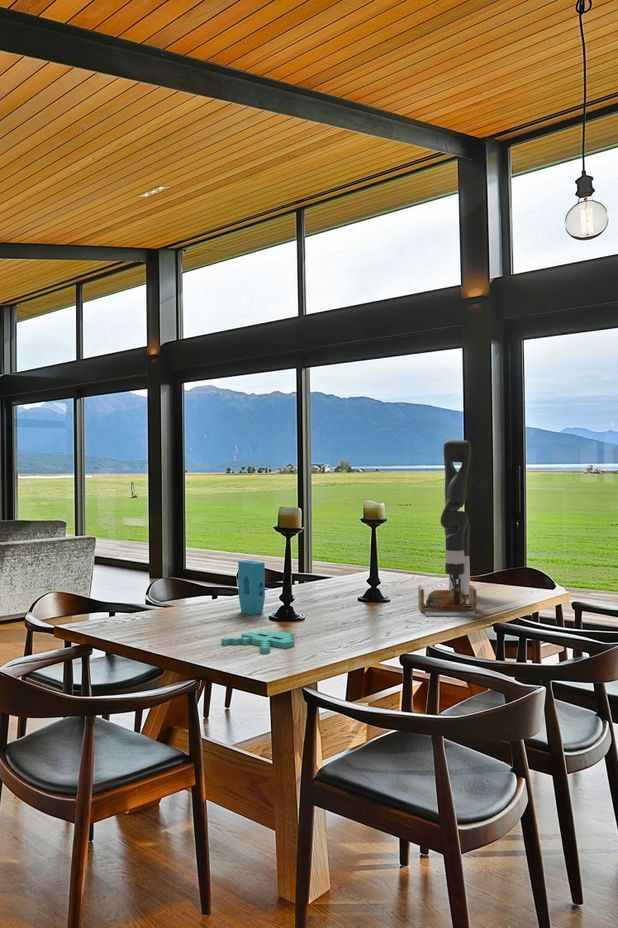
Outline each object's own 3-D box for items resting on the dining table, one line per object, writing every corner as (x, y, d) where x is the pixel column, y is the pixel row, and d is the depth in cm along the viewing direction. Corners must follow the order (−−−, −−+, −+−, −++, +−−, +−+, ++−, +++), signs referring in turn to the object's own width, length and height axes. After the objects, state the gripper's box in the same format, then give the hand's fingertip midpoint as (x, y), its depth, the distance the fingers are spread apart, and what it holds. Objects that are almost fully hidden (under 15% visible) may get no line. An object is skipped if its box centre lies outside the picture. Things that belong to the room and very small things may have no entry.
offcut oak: (426, 603, 313) (426, 599, 313) (438, 604, 312) (438, 599, 312) (426, 605, 310) (426, 600, 310) (438, 605, 310) (438, 600, 310)
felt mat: (424, 613, 302) (424, 611, 302) (473, 613, 301) (473, 611, 301) (426, 616, 295) (426, 615, 295) (476, 616, 294) (476, 615, 294)
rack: (418, 607, 314) (418, 585, 314) (472, 607, 313) (471, 585, 313) (420, 612, 303) (420, 589, 303) (476, 612, 302) (476, 589, 302)
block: (237, 611, 310) (237, 561, 310) (247, 609, 313) (247, 560, 313) (255, 615, 301) (255, 563, 301) (266, 613, 304) (265, 562, 304)
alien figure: (264, 655, 240) (308, 643, 255) (264, 648, 240) (308, 636, 255) (221, 645, 254) (265, 635, 269) (221, 638, 254) (264, 628, 269)
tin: (428, 611, 305) (427, 590, 305) (426, 610, 309) (426, 589, 309) (466, 611, 305) (466, 590, 305) (464, 610, 308) (464, 588, 308)
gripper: (443, 559, 313) (443, 599, 313) (447, 563, 299) (447, 606, 299) (461, 559, 313) (462, 599, 313) (467, 563, 299) (467, 606, 299)
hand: (455, 602), depth 306 cm, fingers open, 8 cm apart
